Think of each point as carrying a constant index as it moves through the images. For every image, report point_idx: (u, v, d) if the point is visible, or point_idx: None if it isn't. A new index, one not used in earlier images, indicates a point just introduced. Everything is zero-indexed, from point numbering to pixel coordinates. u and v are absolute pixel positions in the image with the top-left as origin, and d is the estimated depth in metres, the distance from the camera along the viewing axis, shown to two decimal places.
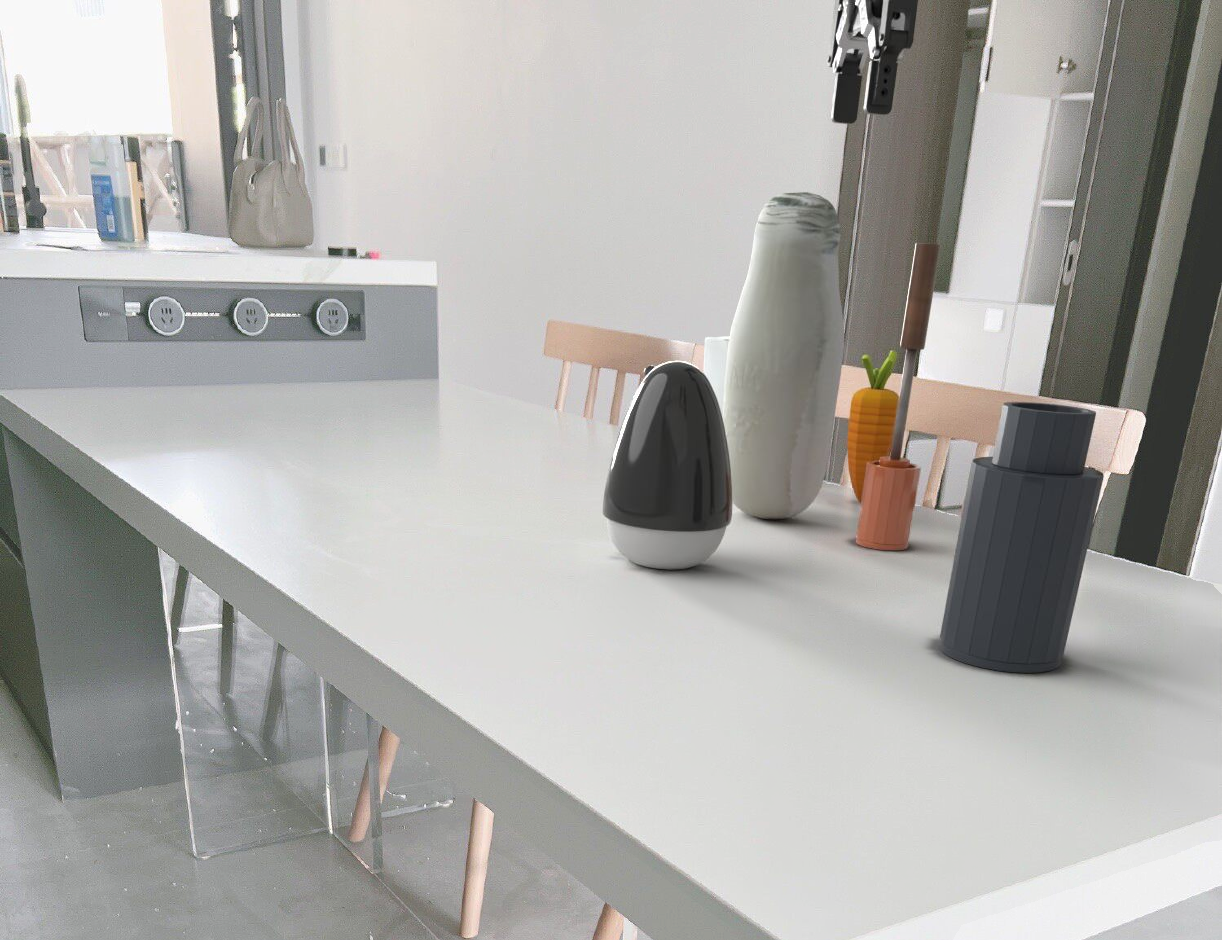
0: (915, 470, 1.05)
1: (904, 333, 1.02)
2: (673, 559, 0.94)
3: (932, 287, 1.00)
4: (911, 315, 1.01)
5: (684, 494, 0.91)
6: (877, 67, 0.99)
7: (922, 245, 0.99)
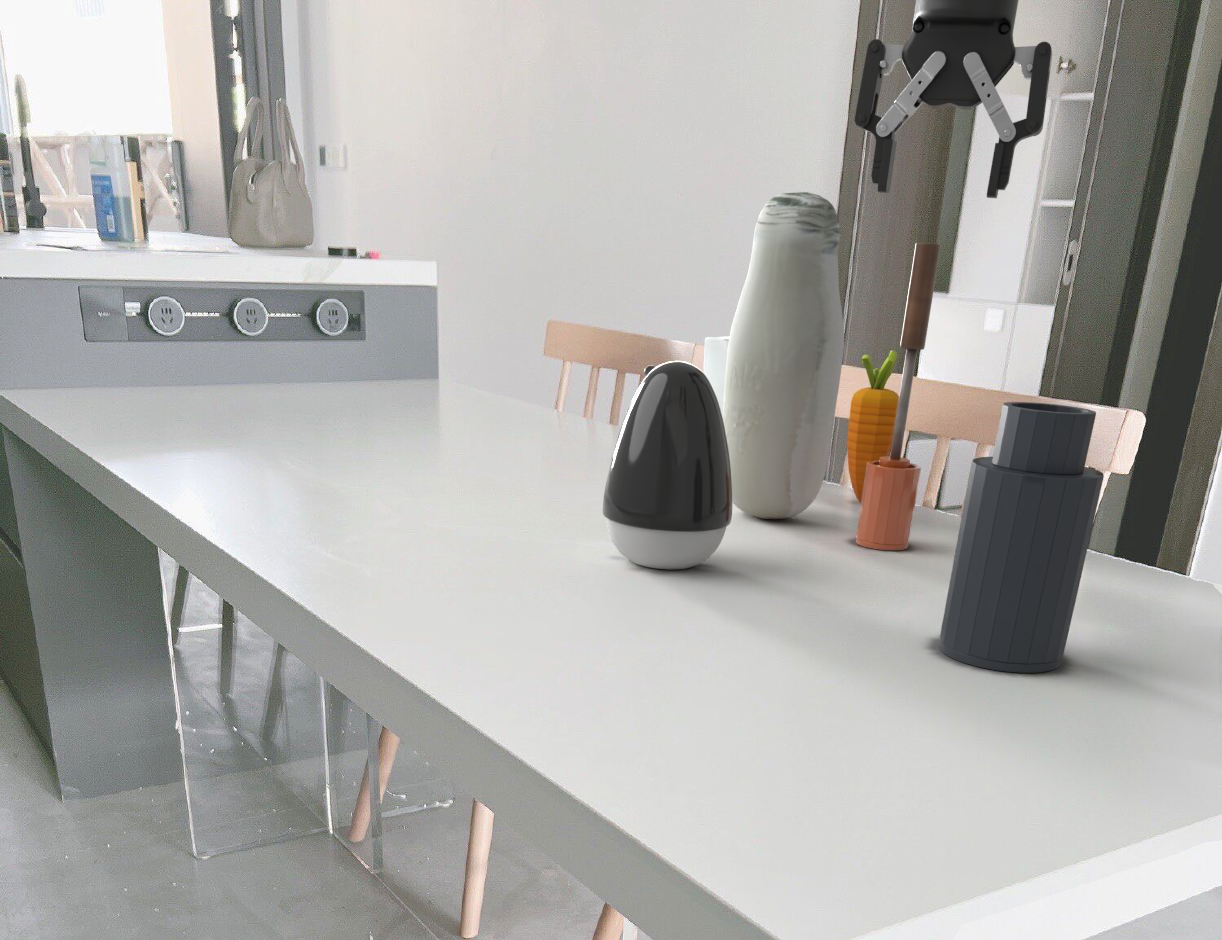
0: (915, 470, 1.05)
1: (904, 333, 1.02)
2: (673, 559, 0.94)
3: (932, 287, 1.00)
4: (911, 315, 1.01)
5: (684, 494, 0.91)
6: (1006, 151, 0.95)
7: (922, 245, 0.99)
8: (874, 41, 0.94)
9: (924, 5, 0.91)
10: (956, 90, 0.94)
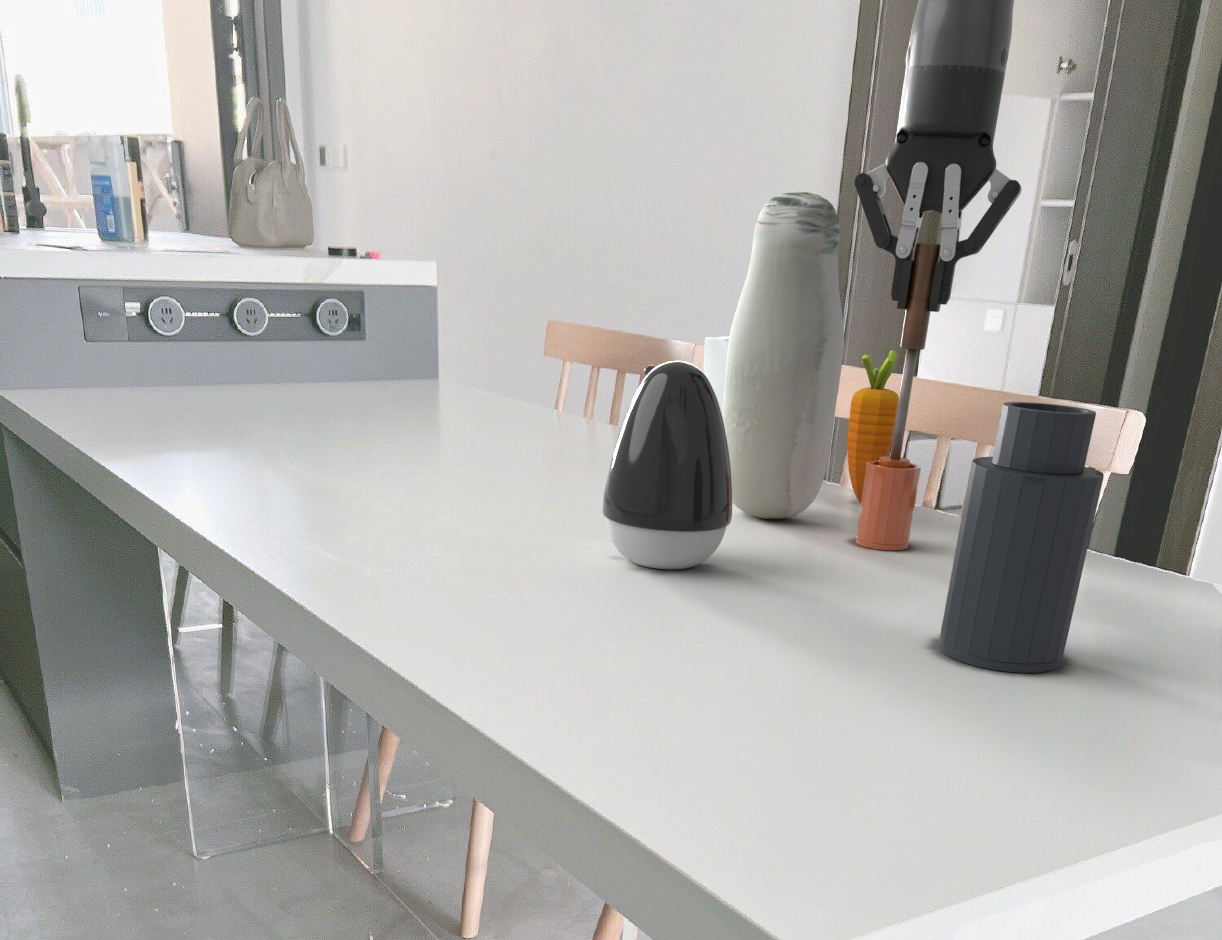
0: (915, 470, 1.05)
1: (904, 333, 1.02)
2: (673, 559, 0.94)
3: None
4: (911, 315, 1.01)
5: (684, 494, 0.91)
6: (947, 269, 0.99)
7: (922, 245, 0.99)
8: (858, 176, 0.98)
9: (907, 119, 0.94)
10: (938, 198, 0.97)
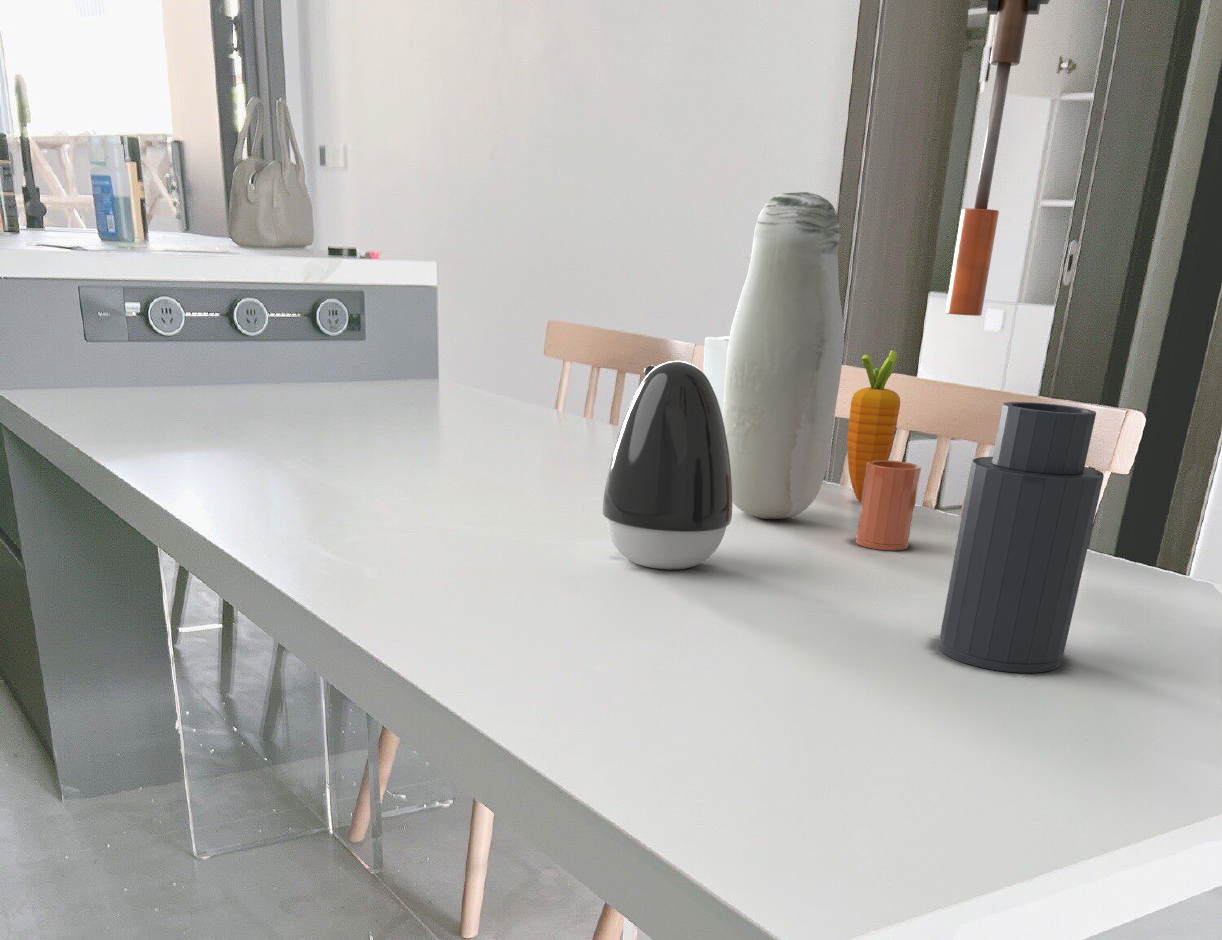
0: (915, 470, 1.05)
1: (995, 42, 0.83)
2: (673, 559, 0.94)
3: None
4: (1005, 17, 0.82)
5: (684, 494, 0.91)
6: None
7: None
8: None
9: None
10: None
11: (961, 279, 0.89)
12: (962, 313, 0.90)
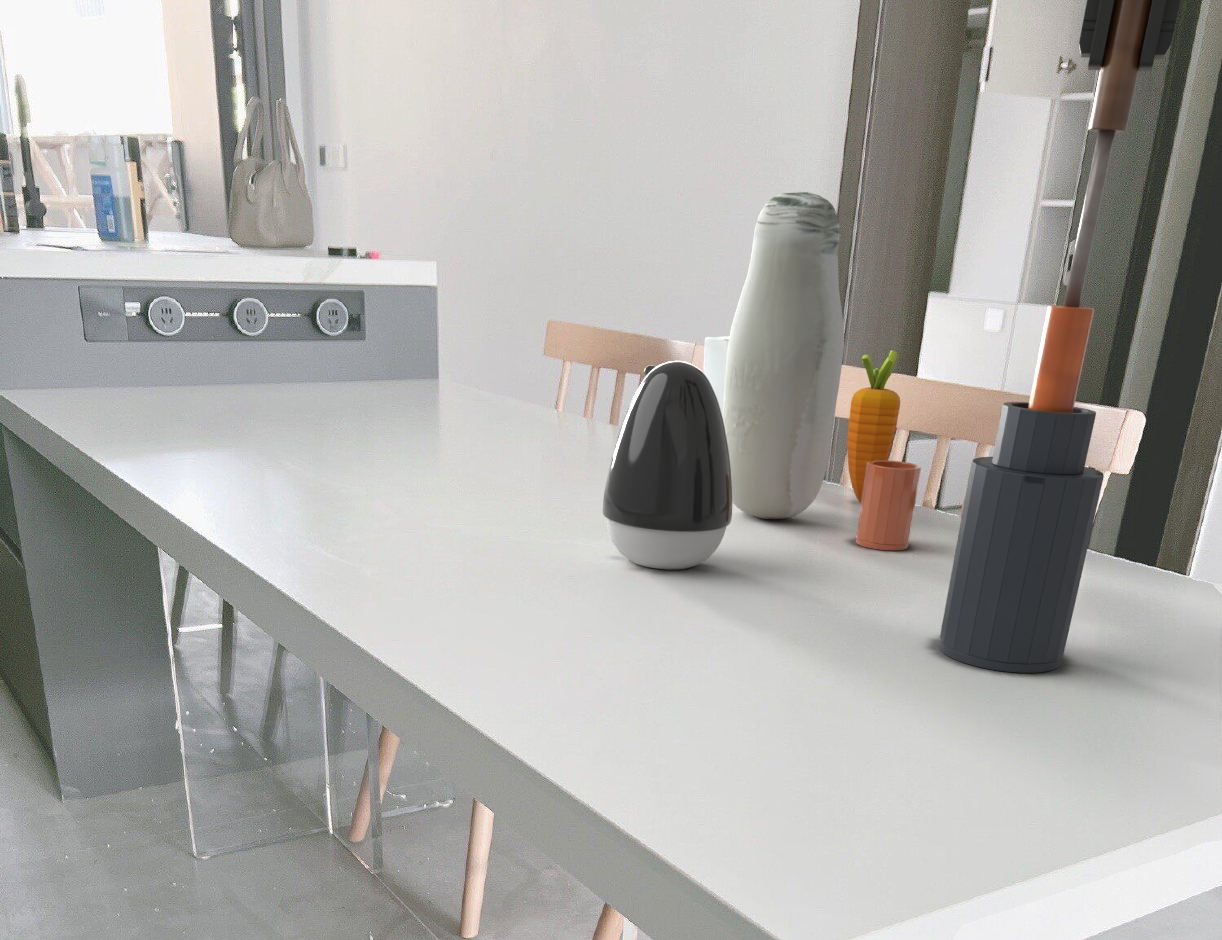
0: (915, 470, 1.05)
1: (1097, 105, 0.67)
2: (673, 559, 0.94)
3: (1146, 28, 0.65)
4: (1111, 74, 0.66)
5: (684, 494, 0.91)
6: None
7: None
8: None
9: None
10: None
11: (1046, 391, 0.73)
12: None
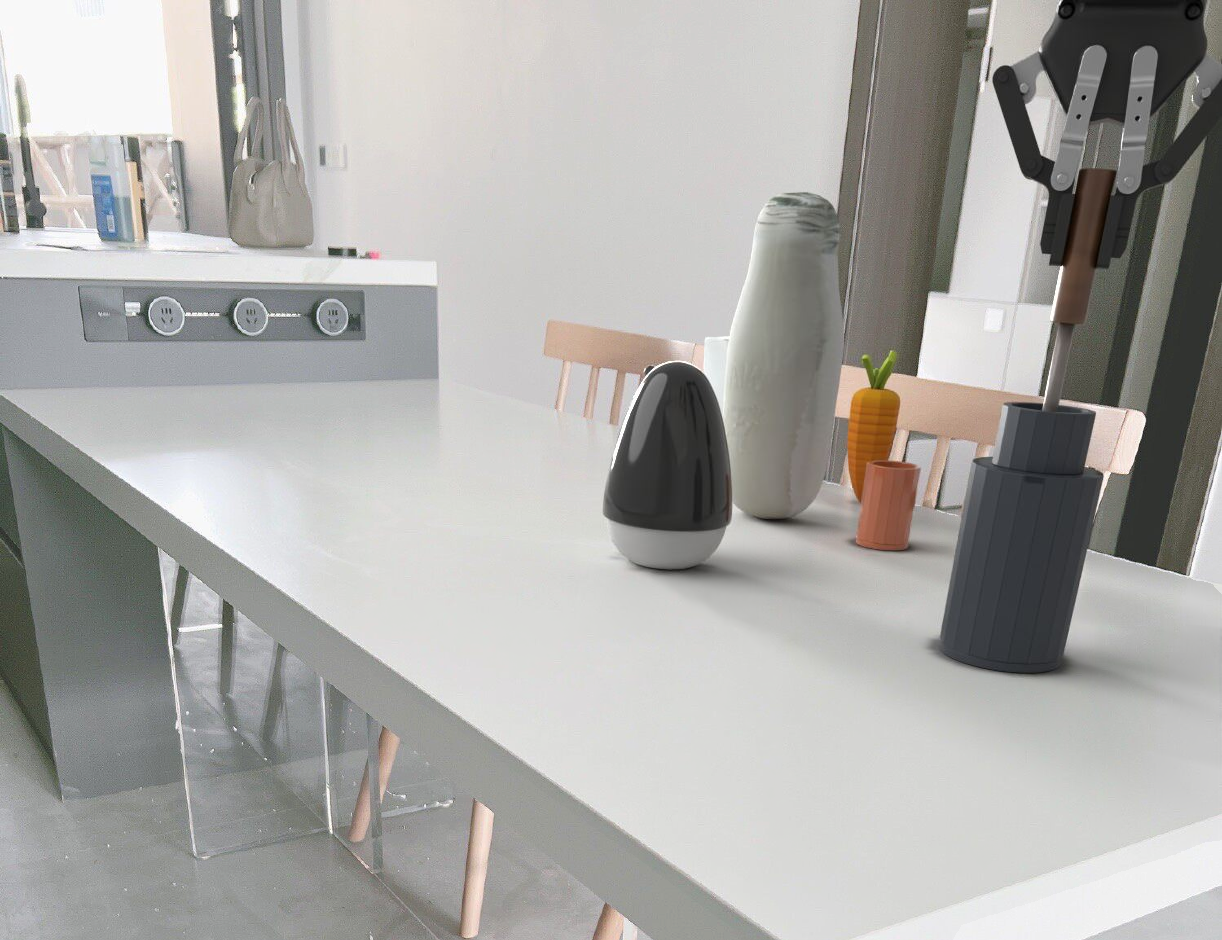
0: (915, 470, 1.05)
1: (1058, 301, 0.71)
2: (673, 559, 0.94)
3: (1102, 233, 0.69)
4: (1070, 274, 0.70)
5: (684, 494, 0.91)
6: (1126, 206, 0.68)
7: (1091, 171, 0.68)
8: (998, 71, 0.67)
9: None
10: (1119, 100, 0.66)
11: None
12: None
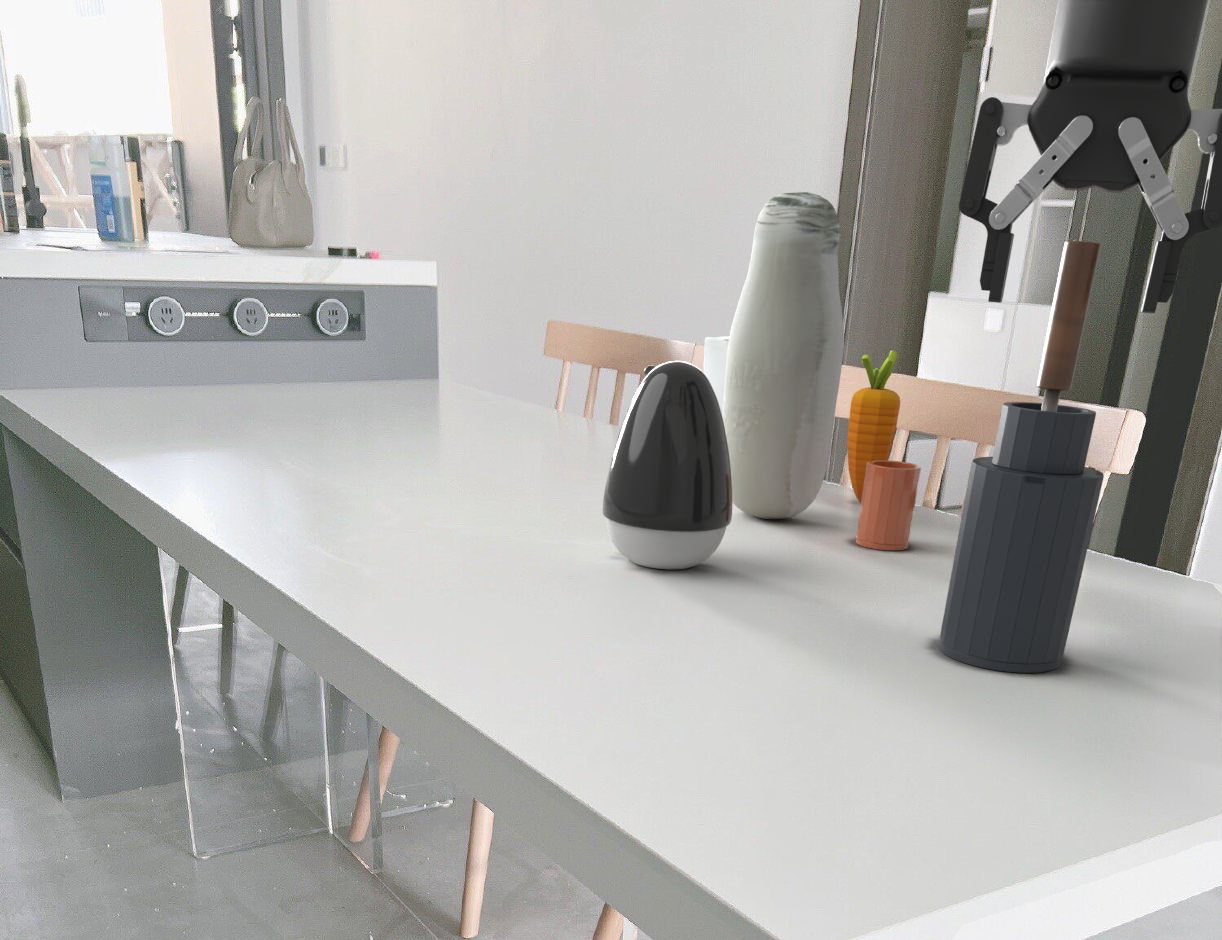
0: (915, 470, 1.05)
1: (1044, 367, 0.73)
2: (673, 559, 0.94)
3: (1087, 303, 0.71)
4: (1055, 343, 0.72)
5: (684, 494, 0.91)
6: (1173, 252, 0.68)
7: (1076, 244, 0.69)
8: (990, 100, 0.68)
9: (1066, 51, 0.65)
10: (1105, 168, 0.68)
11: None
12: None
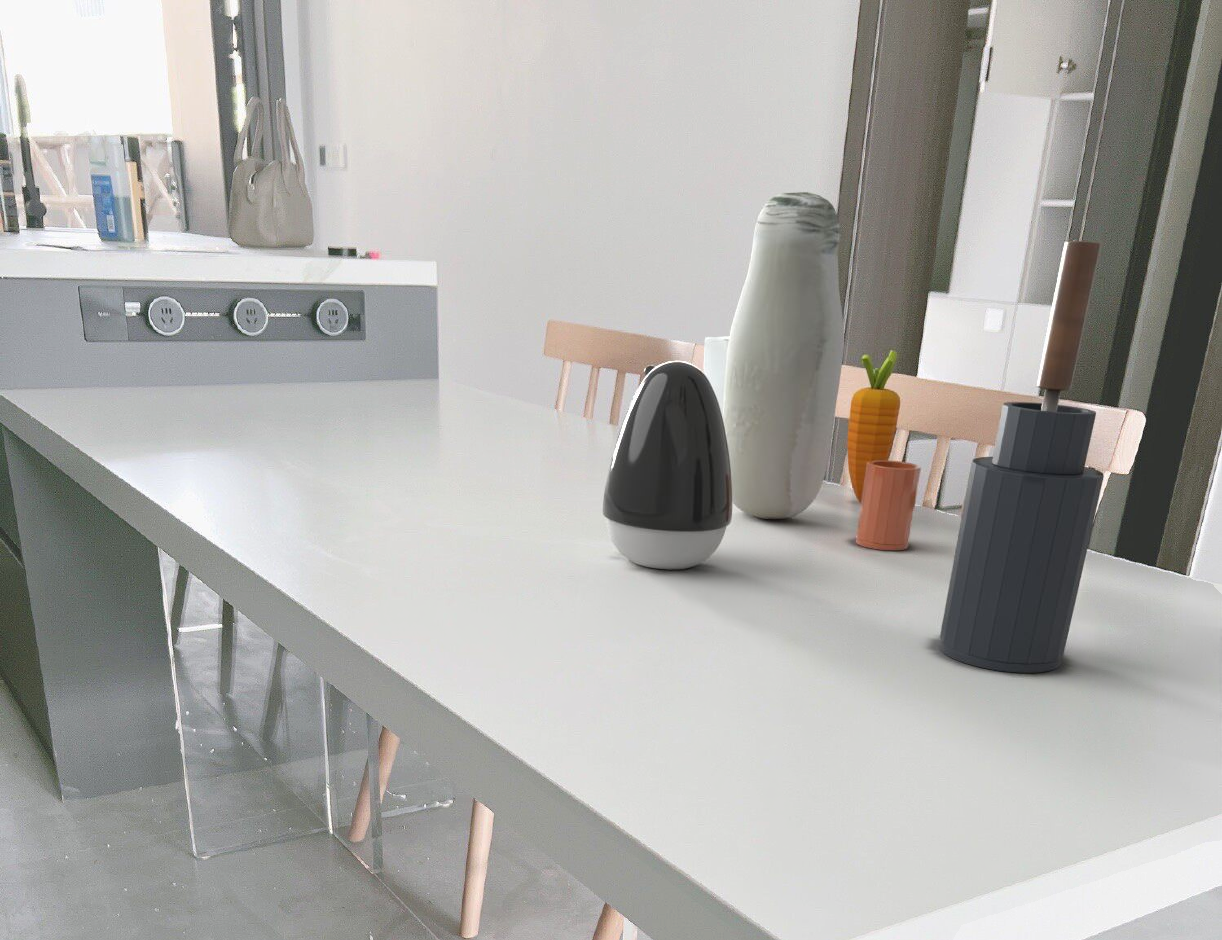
0: (915, 470, 1.05)
1: (1044, 367, 0.73)
2: (673, 559, 0.94)
3: (1087, 303, 0.71)
4: (1055, 343, 0.72)
5: (684, 494, 0.91)
6: None
7: (1076, 244, 0.69)
8: None
9: None
10: None
11: None
12: None
